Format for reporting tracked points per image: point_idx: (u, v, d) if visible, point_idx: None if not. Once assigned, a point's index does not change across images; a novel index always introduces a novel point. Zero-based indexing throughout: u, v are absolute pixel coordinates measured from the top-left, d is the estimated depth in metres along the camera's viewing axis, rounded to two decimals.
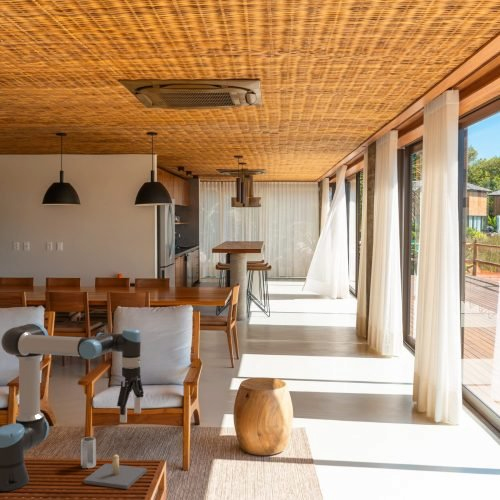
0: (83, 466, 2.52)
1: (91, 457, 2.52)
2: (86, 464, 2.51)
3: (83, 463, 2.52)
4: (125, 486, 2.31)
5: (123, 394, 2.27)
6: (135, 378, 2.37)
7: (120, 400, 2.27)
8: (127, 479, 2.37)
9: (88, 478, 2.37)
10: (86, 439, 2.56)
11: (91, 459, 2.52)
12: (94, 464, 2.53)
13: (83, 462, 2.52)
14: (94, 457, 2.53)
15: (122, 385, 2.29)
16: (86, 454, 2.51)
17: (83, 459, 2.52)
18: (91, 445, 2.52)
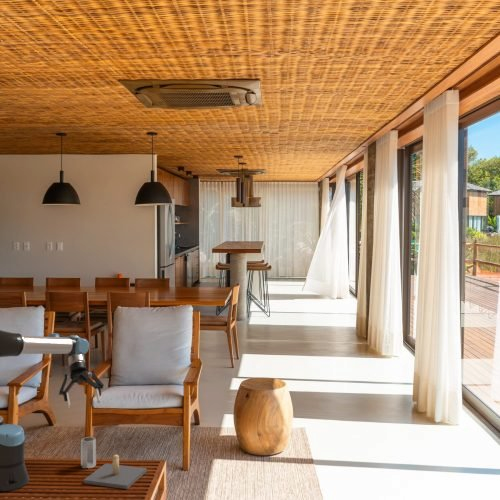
0: (83, 466, 2.52)
1: (91, 457, 2.52)
2: (86, 464, 2.51)
3: (83, 463, 2.52)
4: (125, 486, 2.31)
5: None
6: None
7: None
8: (127, 479, 2.37)
9: (88, 478, 2.37)
10: (86, 439, 2.56)
11: (91, 459, 2.52)
12: (94, 464, 2.53)
13: (83, 462, 2.52)
14: (94, 457, 2.53)
15: None
16: (86, 454, 2.51)
17: (83, 459, 2.52)
18: (91, 445, 2.52)
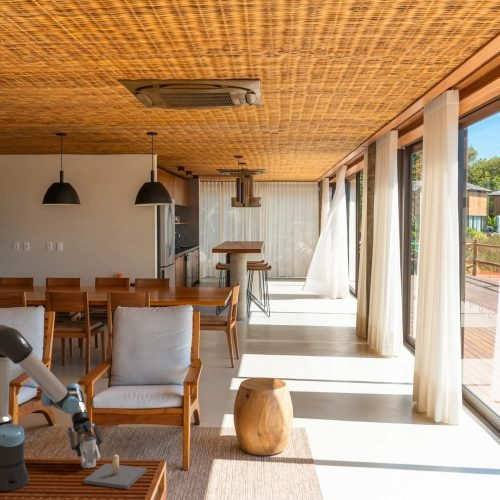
0: (83, 466, 2.52)
1: (91, 457, 2.52)
2: (86, 464, 2.51)
3: None
4: (125, 486, 2.31)
5: None
6: None
7: None
8: (127, 479, 2.37)
9: (88, 478, 2.37)
10: (86, 439, 2.56)
11: (91, 459, 2.52)
12: (94, 464, 2.53)
13: None
14: (94, 457, 2.53)
15: None
16: (86, 454, 2.51)
17: None
18: (91, 445, 2.52)
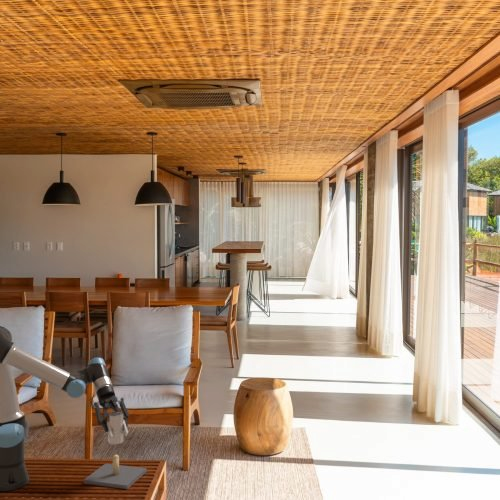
0: (110, 442, 2.40)
1: (119, 433, 2.40)
2: (114, 440, 2.39)
3: (110, 439, 2.40)
4: (125, 486, 2.31)
5: None
6: None
7: None
8: (127, 479, 2.37)
9: (88, 478, 2.37)
10: (113, 414, 2.44)
11: (119, 434, 2.40)
12: (122, 440, 2.42)
13: None
14: (122, 432, 2.42)
15: None
16: (113, 429, 2.39)
17: None
18: (119, 420, 2.40)
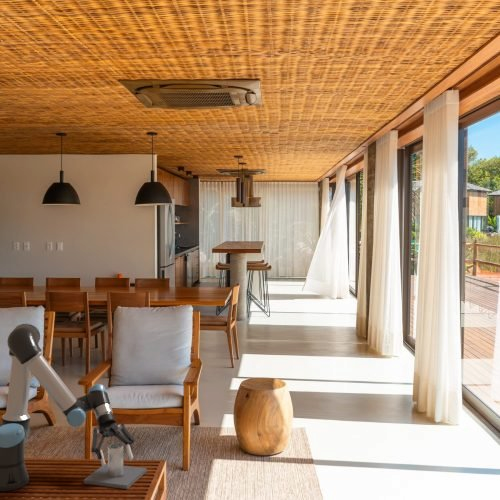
0: (110, 474, 2.39)
1: (119, 465, 2.40)
2: (113, 472, 2.39)
3: (110, 471, 2.39)
4: (125, 486, 2.31)
5: None
6: None
7: None
8: (127, 479, 2.37)
9: (88, 478, 2.37)
10: (113, 446, 2.43)
11: (119, 467, 2.39)
12: (121, 472, 2.41)
13: (110, 470, 2.39)
14: (121, 465, 2.41)
15: None
16: (113, 462, 2.39)
17: (110, 467, 2.39)
18: (119, 452, 2.39)
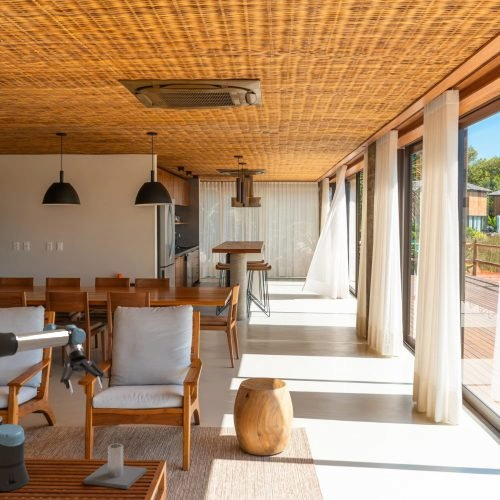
0: (110, 474, 2.39)
1: (119, 465, 2.40)
2: (113, 472, 2.39)
3: (110, 471, 2.39)
4: (125, 486, 2.31)
5: None
6: None
7: None
8: (127, 479, 2.37)
9: (88, 478, 2.37)
10: (113, 446, 2.43)
11: (119, 467, 2.39)
12: (121, 472, 2.41)
13: (110, 470, 2.39)
14: (121, 465, 2.41)
15: None
16: (113, 462, 2.39)
17: (110, 467, 2.39)
18: (119, 452, 2.39)
